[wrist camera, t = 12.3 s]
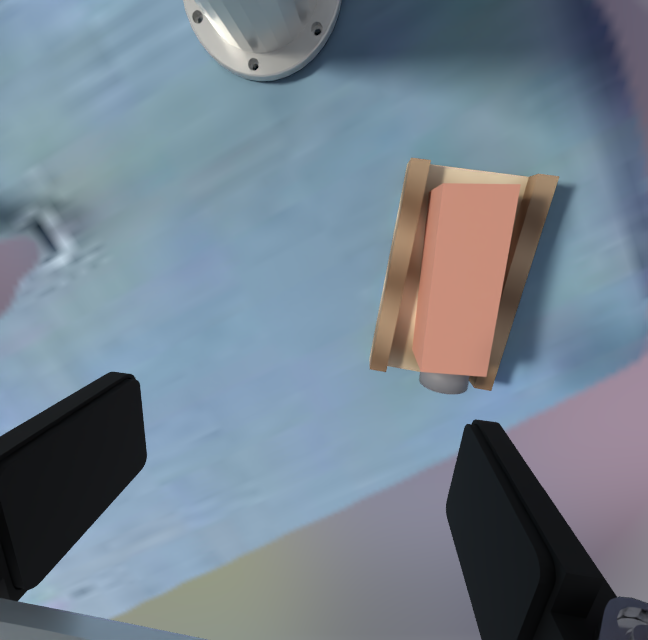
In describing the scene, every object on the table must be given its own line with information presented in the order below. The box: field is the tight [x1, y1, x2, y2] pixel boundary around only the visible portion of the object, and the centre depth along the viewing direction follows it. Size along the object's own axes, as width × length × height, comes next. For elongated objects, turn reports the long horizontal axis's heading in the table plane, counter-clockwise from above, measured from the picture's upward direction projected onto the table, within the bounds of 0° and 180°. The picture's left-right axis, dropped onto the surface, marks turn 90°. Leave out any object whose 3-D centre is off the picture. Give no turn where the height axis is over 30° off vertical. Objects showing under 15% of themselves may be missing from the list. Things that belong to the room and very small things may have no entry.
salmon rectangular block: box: [412, 183, 521, 394], centre depth 26 cm, size 16×5×5 cm, turn 179°
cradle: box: [370, 158, 559, 391], centre depth 28 cm, size 18×11×2 cm, turn 172°
